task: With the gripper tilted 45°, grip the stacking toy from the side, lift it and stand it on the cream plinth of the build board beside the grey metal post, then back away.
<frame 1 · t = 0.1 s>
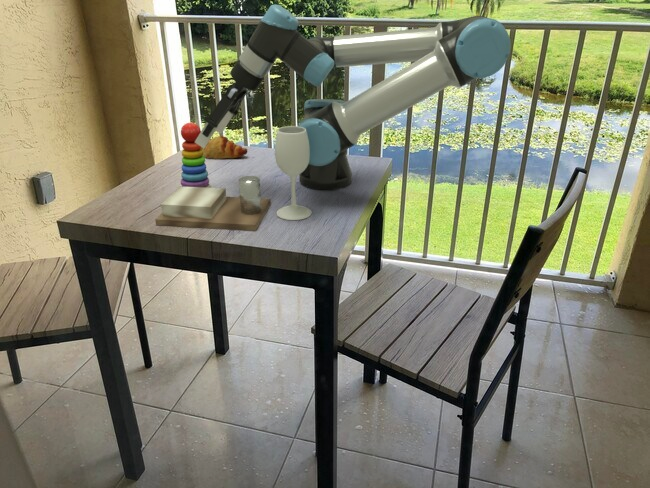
hand: (208, 137, 132), 15 cm above the table, tool tilted 35°, fingers open, 13 cm apart
croissant: (218, 156, 169), on the table
build board: (216, 214, 126), on the table
wineglass: (293, 214, 127), on the table
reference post: (251, 216, 125), resting on build board
stacking toy: (196, 192, 140), on the table
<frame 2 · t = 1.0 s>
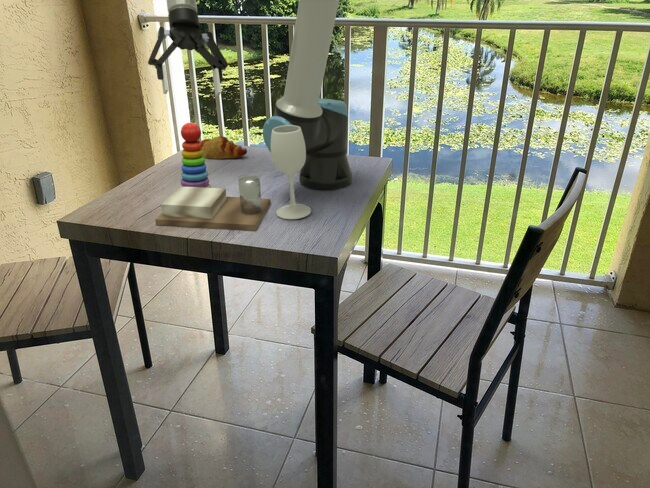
hand: (192, 93, 132), 25 cm above the table, tool tilted 30°, fingers open, 13 cm apart
wineglass: (293, 213, 127), on the table
everything else where it was.
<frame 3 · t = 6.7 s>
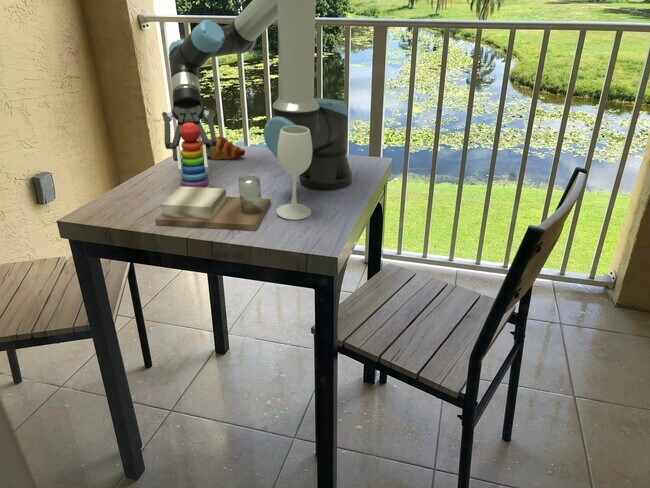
hand: (193, 170, 133), 7 cm above the table, tool tilted 45°, fingers closed on stacking toy, 6 cm apart
wineglass: (293, 213, 127), on the table, touching arm
stacking toy: (196, 192, 140), on the table, touching gripper
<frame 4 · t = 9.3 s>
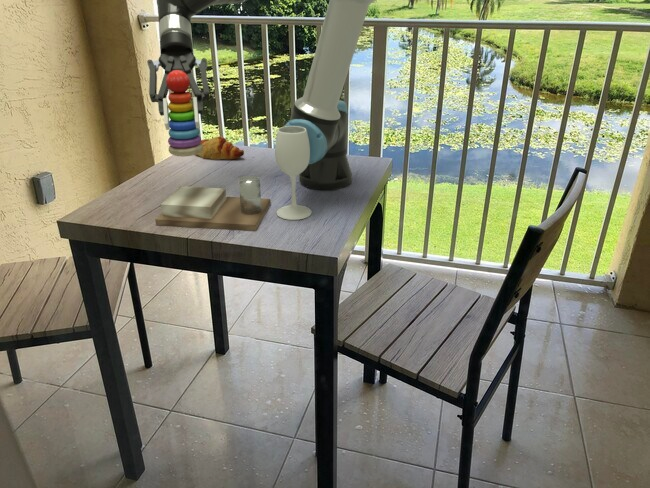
hand: (182, 125, 115), 22 cm above the table, tool tilted 45°, fingers closed on stacking toy, 6 cm apart
wineglass: (293, 213, 127), on the table
stacking toy: (186, 153, 122), point 15 cm above the table, touching gripper
everything else where it was.
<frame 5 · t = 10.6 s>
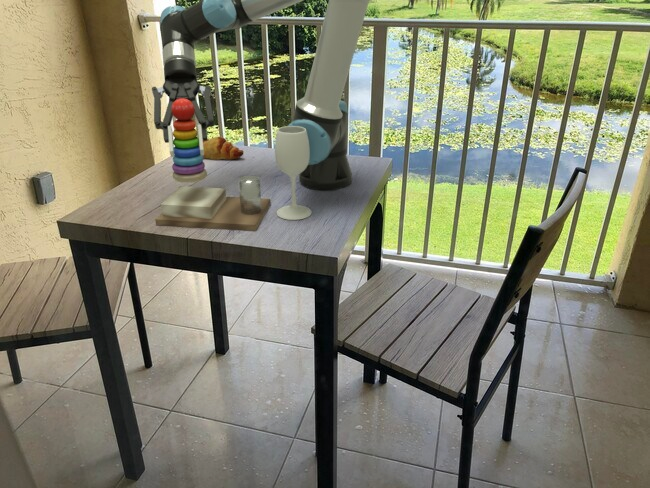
hand: (187, 153, 116), 16 cm above the table, tool tilted 45°, fingers closed on stacking toy, 6 cm apart
wineglass: (293, 213, 127), on the table, touching arm
stacking toy: (190, 179, 123), point 9 cm above the table, touching gripper
everything else where it was.
when the fingers open (13 cm above the table, at t = 11.5 s): stacking toy drops 1 cm, resting on build board.
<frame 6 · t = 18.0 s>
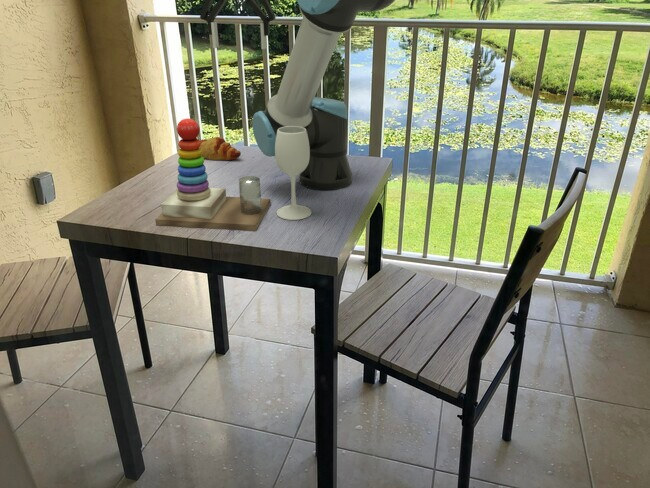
hand: (239, 48, 141), 35 cm above the table, tool pointing down, fingers open, 13 cm apart
wineglass: (293, 213, 127), on the table
stacking toy: (194, 196, 125), point 4 cm above the table, touching build board
at the end: stacking toy inside the target area on the build board (0.1 cm from its centre), point 4.3 cm above the build board's base; stacking toy tilted 0°; the gripper is holding nothing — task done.
